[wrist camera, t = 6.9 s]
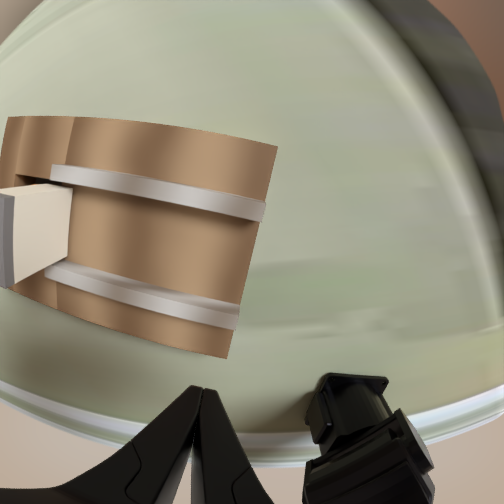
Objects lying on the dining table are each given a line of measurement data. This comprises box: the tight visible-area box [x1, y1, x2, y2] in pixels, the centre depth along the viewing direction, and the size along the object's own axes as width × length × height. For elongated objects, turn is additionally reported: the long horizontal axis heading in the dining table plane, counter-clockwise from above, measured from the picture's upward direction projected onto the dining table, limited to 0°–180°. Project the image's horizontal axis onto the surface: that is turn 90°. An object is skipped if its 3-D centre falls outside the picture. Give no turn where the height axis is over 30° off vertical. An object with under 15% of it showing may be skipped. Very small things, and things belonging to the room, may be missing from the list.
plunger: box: [0, 184, 73, 289], centre depth 13 cm, size 2×5×6 cm, turn 167°
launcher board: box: [0, 116, 278, 359], centre depth 17 cm, size 21×14×4 cm, turn 77°
